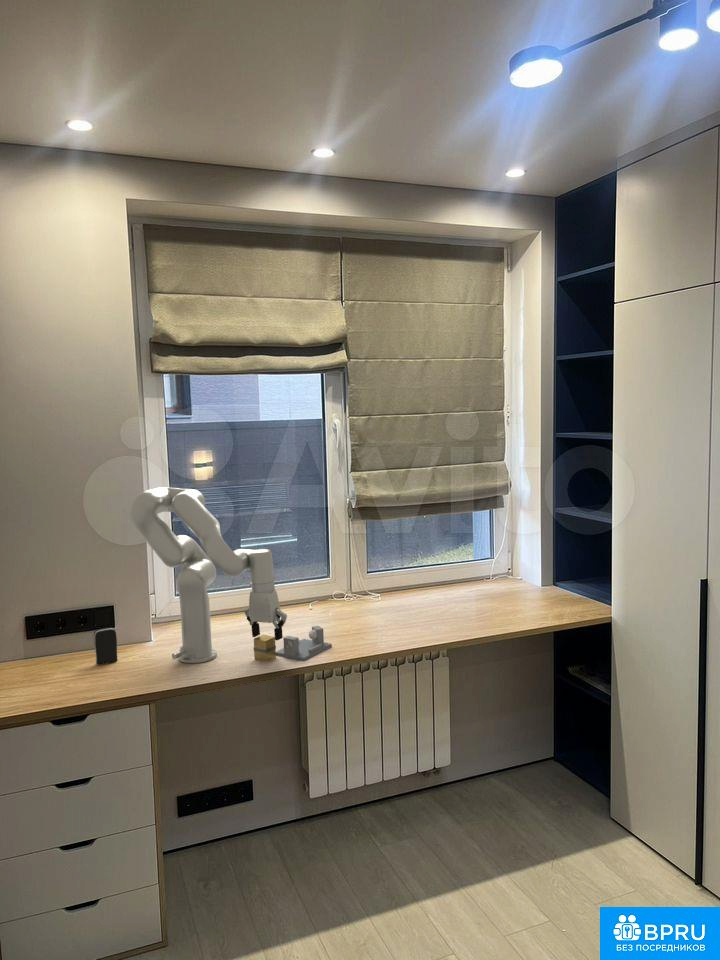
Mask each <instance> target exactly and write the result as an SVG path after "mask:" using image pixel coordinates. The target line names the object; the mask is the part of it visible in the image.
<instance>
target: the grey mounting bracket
mask: <svg viewBox="0 0 720 960" xmlns="http://www.w3.org/2000/svg"><path fill="white" fill-rule="evenodd" d="M308 637H309V639H306V638H302V639H301V640H300V638H299V637H297V636H291V635H287V636H285V637H284V636H283V637H282V639H283V647H282V648H281V649H279V650H276V657H277V656H278V657H283V658H288V659H293V660H298V661H302V660H303V661H306V660H308V659H310V658H312V657H314V656H316V655H318V654H320V653H322V652H323V651H326V650H328V649H330V648H332V647H333V645H332V643H329V642H325V641H324V640H325V639H324V638H325V636H324V628H323V627H321V626H319V625H314V626H311V630H310V631H309V632H308Z"/></svg>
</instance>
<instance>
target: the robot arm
mask: <svg viewBox="0 0 720 960" xmlns="http://www.w3.org/2000/svg"><path fill="white" fill-rule="evenodd" d="M163 512H168V513H174V515H176V516H177V517H178V519H180V520H181V522H182V523H184V524H185V525H186V527H187V528H188V529H189V530H190V531H191V532H192V533H193V534H194V535H195V536H196V538H198V540H199V542H200V545H201V546H202V548H201V546H200V545H199V544H198V543H197V542H196V540H194V538H192V537H191V536H188V535H185V534H179V535H176V534H175V532H174V531H173V530H172V528H170V526H169V525H168V524H167V522H165V521H163V520H162V518H160V517H159V515H158V514H161V513H163ZM129 513H130V515H129V516H130V519H131V521H132V524H133V526H134V527H135V529H136V530H137V531H138V533H139V534H140V535H141V536H142V537H143V538H144V540H145V541H146V542H147V544H148V545H149V547H151V549H152V550H153V551H154V553H155V554H156V556H158V558H159V559H160V560H161V561H162V563H163V564H164V565H165V566H166V567H168V568H177V567H182V569H181V570H180V572H178V575H177V578H176V587H177V593H178V599H179V608H180V625H181V641H182V642H181V643H182V644H181V645H182V646H180V647H179V648H180V649H179V651H177V652H174V653H172V655H171V658H172V660H176V659H178V661H179V662H181V663H186V664H198V663H199V664H200V663H205V662H209V661H211V660H212V661H213V659H215V658H216V657H217V654H218V653H217V650H216V649H214V648H213V647H212V629H211V628H212V627H211V606H210V597H209V595H208V590H207V589H208V587H209V585H211V584H213V583H214V581H215V580H216V577H217V568H218V569H219V571H221V572H222V573H223V574H224V575H226V576H228V577H230V578H235V577H239V576H241V574H243V573H244V572H246V571H249V572H250V573H249V574H250V583H249V586H250V587H251V591H250V592H249V598H248V609H246V610H244V615H245V616H246V620H247V621H248V623H249V625H250V626H251V636H252V638H257V637H259V636H261V630H260V623H265V624H271V623H272V625H273V626H274V627H275V628H274V629H273V630H274V631H273V632H274V637H275V641H280V640H281V639H283V638H284V636H283V627H284V625H285V623H286V621H287V619H288V614H286V613H285V612H284V611H282V610H281V606H280V600H279V597H278V596H279V595H278V592H277V590H276V587H275V574H274V573H275V572H274V562H273V553H272V551H271V549H267V548H259V549H258V548H257V549H247V548H237V549H235V550H233V549H231V547H230V546H229V545H228V544H227V543H226V541H225V540H224V539H223V536H222V533H221V524H220V522H219V520H218V519H217V518H216V517H214V515H213V514H212V512H210V511H209V510H208V509H207V508H206V499H205V497H204V494H203V493H201V492H200V491H199V490H198V489H193V488H181V487H180V488H179V487H167V486H159V487H155V488H150V489H147V490H143V491H141V492H140V493H138V494H137V495H136V496H135V497H134V499H133V501H132V503H131V505H130V510H129Z"/></svg>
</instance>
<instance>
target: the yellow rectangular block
mask: <svg viewBox="0 0 720 960" xmlns="http://www.w3.org/2000/svg"><path fill="white" fill-rule="evenodd" d="M253 652H254V653H253V654H254V660H256V661H260V662H264V663H265V662H266V663H267V662H269V661H271V660H274V659H276V658H277V655H276V652H277V645H276V640H275V636H271V635H267V634H262V635H258V636H256V637H254V638H253Z"/></svg>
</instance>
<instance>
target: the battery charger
mask: <svg viewBox="0 0 720 960" xmlns="http://www.w3.org/2000/svg"><path fill="white" fill-rule="evenodd" d="M117 638H118V636H117V631H116V630H115V629H114V628H112V627H105V628H100V629H99V628H98V629H96V630H95V631H94V632H93V645H94V652H95V664H96V665H97V666H101V664H102V665H107V664H111V662H112V663H115V662H117V661H118V639H117ZM106 663H107V664H106Z"/></svg>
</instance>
